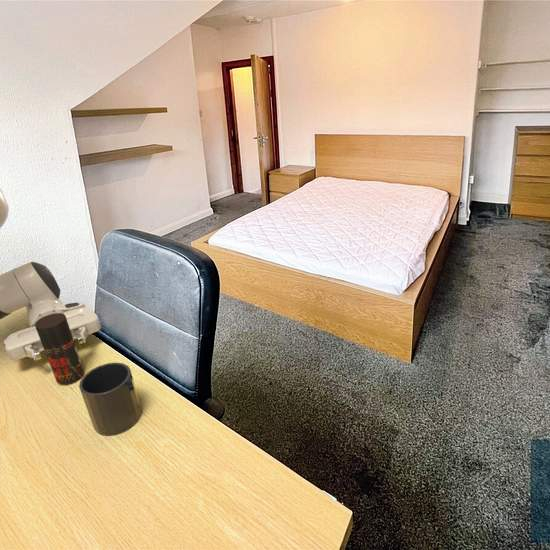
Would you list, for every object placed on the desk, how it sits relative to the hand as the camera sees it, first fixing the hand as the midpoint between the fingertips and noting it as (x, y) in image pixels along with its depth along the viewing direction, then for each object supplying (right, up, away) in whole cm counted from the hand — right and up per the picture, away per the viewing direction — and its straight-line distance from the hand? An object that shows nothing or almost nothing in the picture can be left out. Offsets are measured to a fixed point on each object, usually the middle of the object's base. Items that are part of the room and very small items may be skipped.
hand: (60, 348), depth 92 cm
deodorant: (+2, -7, 0) cm, 7 cm away
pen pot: (+18, -11, -12) cm, 24 cm away
